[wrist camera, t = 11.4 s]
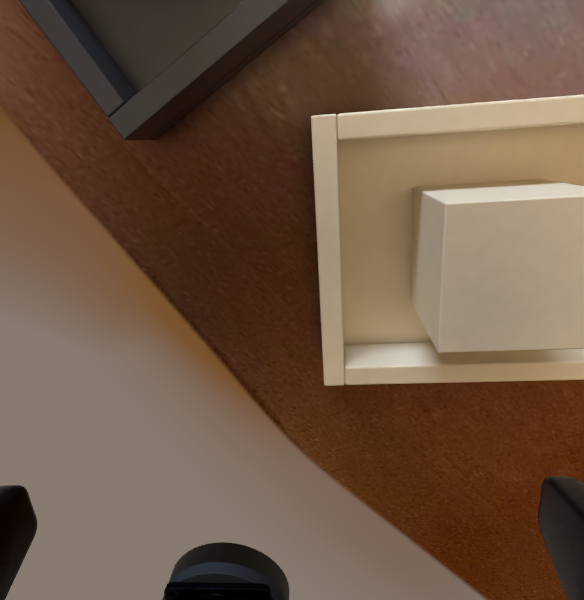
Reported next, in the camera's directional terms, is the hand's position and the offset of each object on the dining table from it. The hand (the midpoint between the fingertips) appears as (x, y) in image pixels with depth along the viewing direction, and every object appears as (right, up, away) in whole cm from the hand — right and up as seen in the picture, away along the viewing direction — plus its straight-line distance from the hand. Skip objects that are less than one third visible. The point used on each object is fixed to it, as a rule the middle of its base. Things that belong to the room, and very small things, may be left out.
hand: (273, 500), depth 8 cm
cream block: (+7, +6, +9) cm, 13 cm away
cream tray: (+7, +6, +10) cm, 13 cm away
